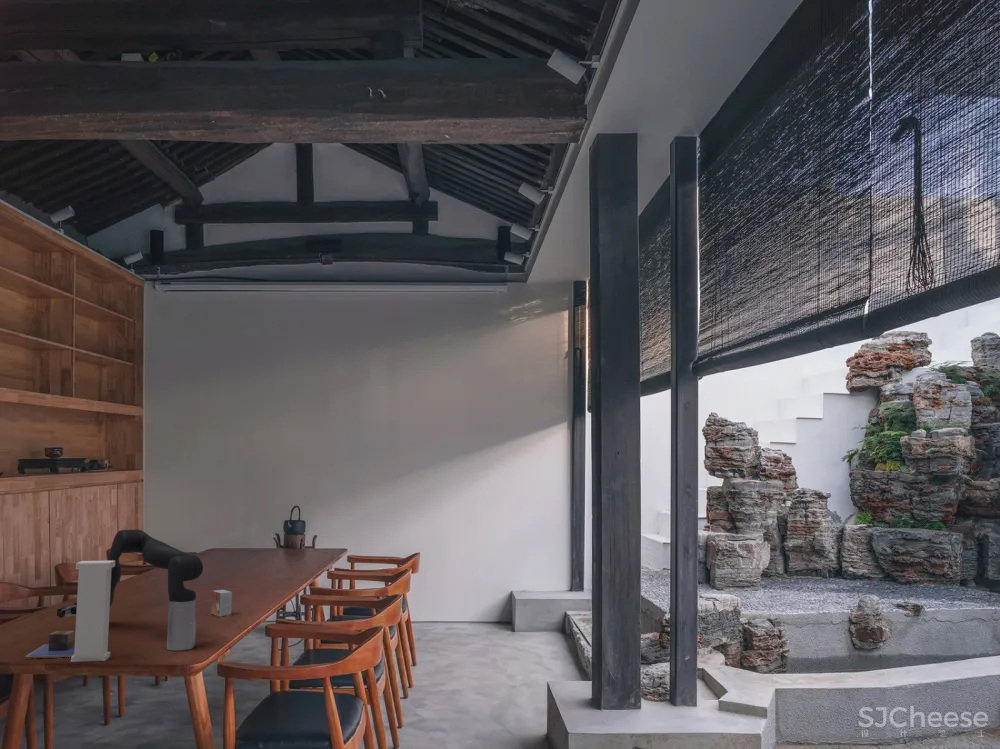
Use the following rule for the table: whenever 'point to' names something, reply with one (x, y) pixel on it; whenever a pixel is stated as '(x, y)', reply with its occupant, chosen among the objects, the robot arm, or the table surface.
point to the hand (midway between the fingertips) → (72, 614)
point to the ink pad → (51, 652)
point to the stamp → (61, 640)
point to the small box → (221, 602)
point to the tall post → (92, 611)
